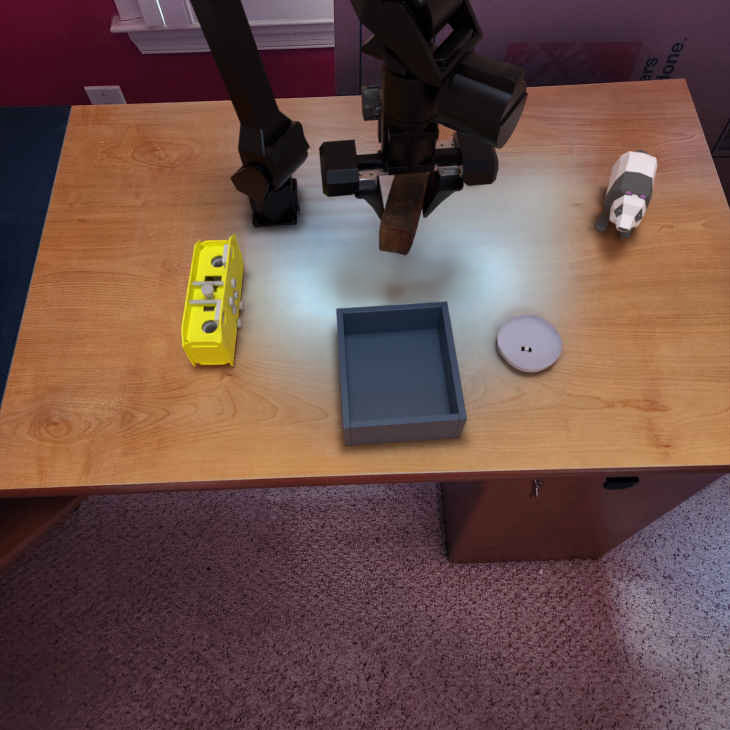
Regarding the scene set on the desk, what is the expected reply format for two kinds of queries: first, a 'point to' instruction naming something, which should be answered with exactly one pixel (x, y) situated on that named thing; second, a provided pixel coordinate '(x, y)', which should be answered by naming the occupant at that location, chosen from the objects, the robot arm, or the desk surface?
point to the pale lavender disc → (529, 343)
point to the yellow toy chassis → (213, 302)
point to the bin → (399, 374)
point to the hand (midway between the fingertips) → (403, 216)
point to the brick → (402, 213)
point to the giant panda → (628, 192)
